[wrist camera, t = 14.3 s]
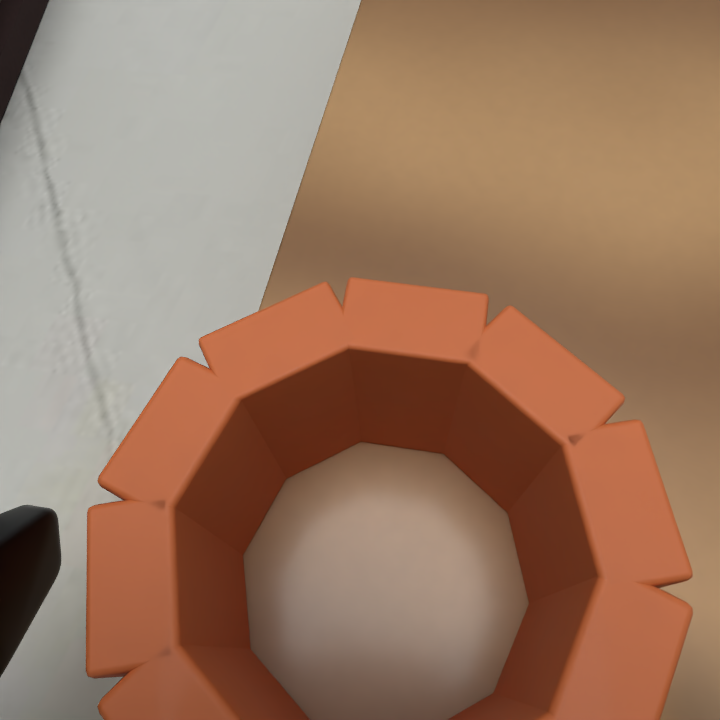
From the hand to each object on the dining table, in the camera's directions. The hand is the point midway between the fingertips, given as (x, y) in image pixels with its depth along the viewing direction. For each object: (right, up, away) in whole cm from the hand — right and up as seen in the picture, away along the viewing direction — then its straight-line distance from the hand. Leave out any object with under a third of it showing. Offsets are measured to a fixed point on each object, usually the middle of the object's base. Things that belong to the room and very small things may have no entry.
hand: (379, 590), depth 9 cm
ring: (0, -1, +2) cm, 2 cm away
